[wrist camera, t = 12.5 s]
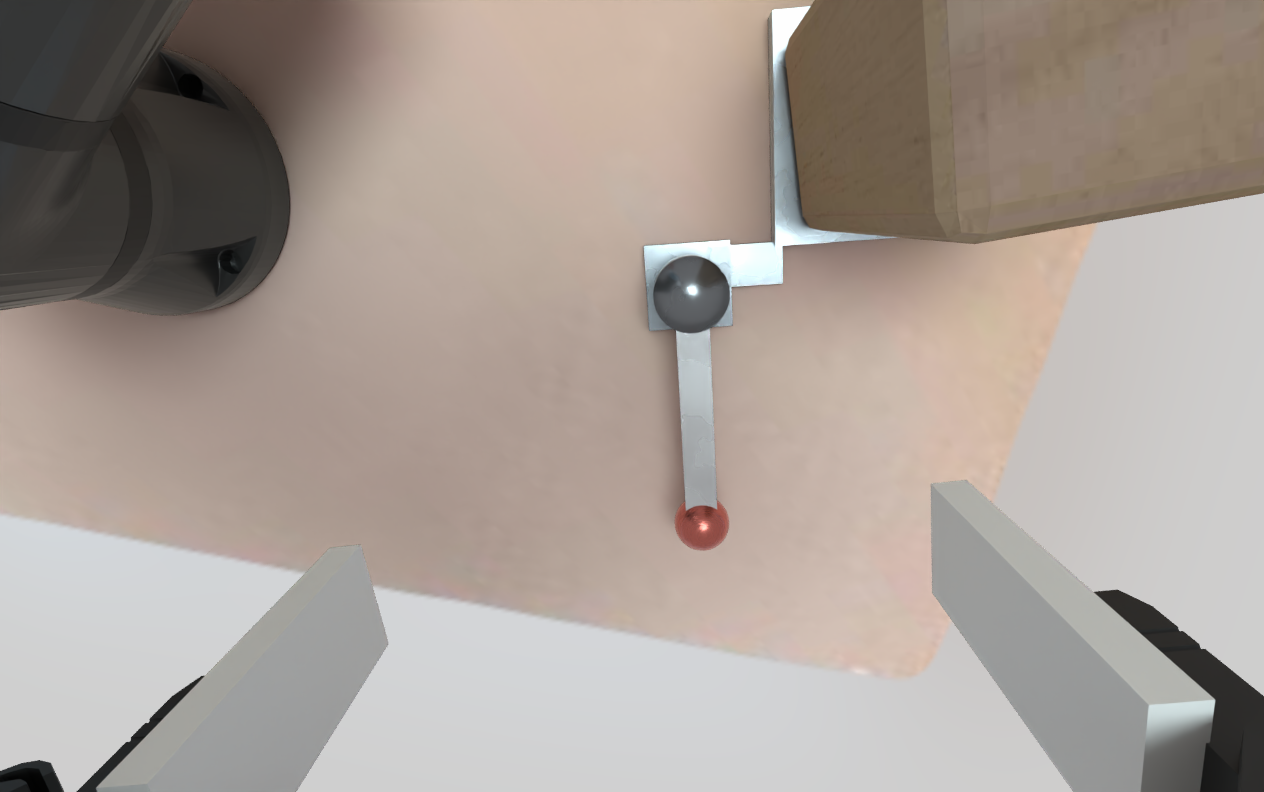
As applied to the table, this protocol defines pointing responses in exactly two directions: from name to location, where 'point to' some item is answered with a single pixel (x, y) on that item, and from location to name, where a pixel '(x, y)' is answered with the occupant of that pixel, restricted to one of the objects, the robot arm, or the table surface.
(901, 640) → the table surface
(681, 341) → the lever
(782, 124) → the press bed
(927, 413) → the table surface
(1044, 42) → the wooden block
